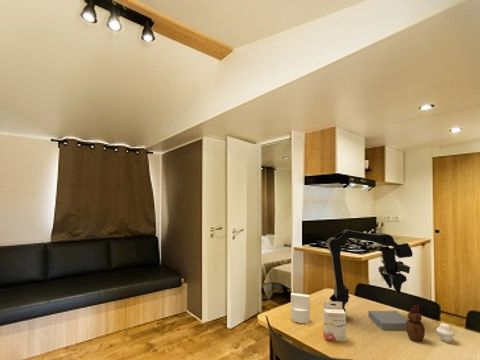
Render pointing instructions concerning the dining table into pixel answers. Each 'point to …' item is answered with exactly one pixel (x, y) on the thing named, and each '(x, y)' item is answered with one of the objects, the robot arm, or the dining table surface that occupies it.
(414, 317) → the wooden figurine
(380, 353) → the dining table surface
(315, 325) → the dining table surface
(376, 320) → the plinth
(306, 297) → the base with upright slab
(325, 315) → the ink cartridge box
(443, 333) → the muffin
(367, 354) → the dining table surface
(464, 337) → the dining table surface
